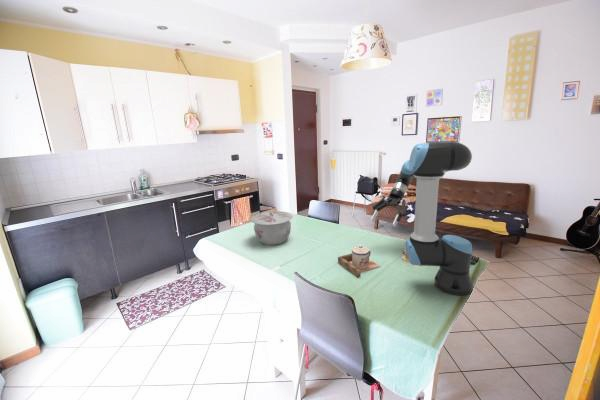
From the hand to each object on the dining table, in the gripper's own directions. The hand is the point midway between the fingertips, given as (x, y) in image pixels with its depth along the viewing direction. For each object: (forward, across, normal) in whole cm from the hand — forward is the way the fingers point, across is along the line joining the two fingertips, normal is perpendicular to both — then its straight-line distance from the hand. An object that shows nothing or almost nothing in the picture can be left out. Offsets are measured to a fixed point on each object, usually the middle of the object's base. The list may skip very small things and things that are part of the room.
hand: (382, 223), depth 154 cm
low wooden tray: (+27, +2, -2) cm, 27 cm away
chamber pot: (+35, +64, +7) cm, 73 cm away
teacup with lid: (+26, +1, -2) cm, 26 cm away
